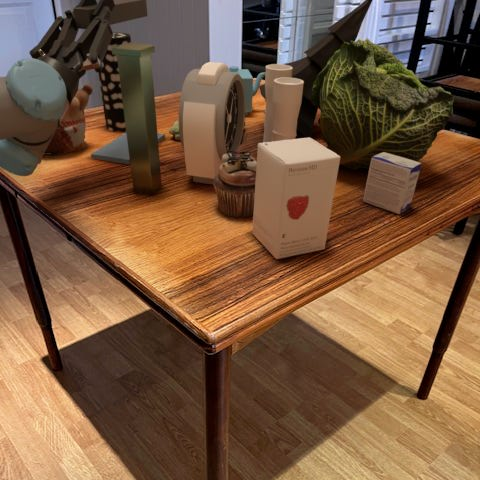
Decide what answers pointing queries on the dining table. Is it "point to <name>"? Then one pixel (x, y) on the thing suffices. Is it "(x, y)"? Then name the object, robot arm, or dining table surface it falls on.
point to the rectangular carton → (293, 195)
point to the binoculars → (281, 103)
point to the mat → (117, 150)
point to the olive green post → (140, 115)
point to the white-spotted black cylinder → (113, 86)
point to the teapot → (248, 85)
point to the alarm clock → (210, 118)
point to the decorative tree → (322, 62)
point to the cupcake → (236, 184)
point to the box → (391, 182)
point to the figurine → (71, 126)
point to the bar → (123, 11)
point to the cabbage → (376, 106)
